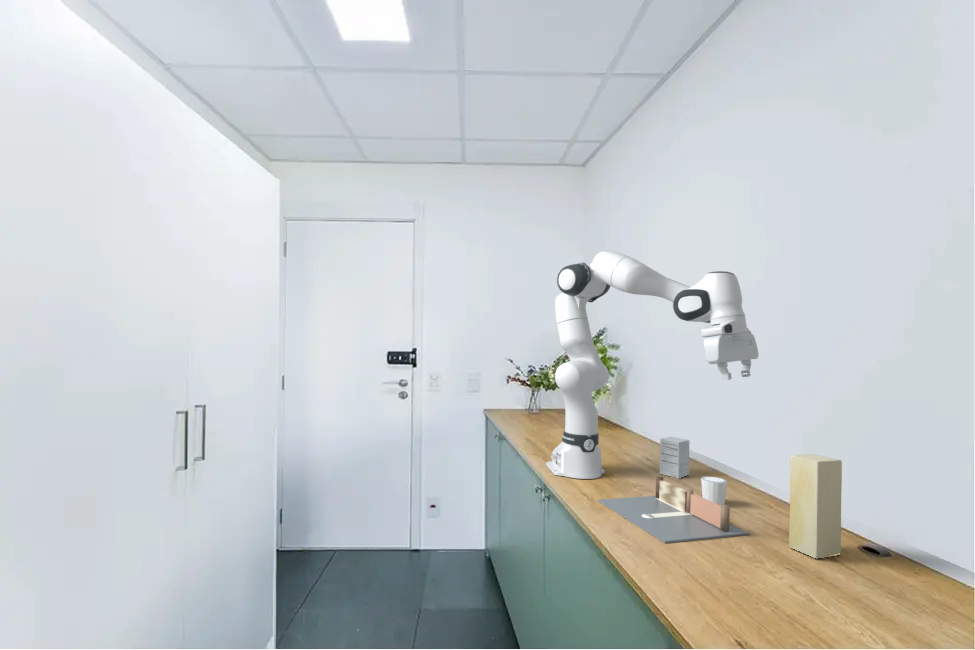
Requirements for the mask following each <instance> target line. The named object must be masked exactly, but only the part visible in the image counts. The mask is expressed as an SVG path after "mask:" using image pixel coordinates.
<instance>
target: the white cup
mask: <svg viewBox="0 0 975 650" xmlns="http://www.w3.org/2000/svg"><path fill="white" fill-rule="evenodd" d="M700 481H701V494H702V496H701V497H702V498H704V499H707V500H709V501H711V502H714V503H716V504H718V505H720V506H721V504H725V503H726V500H725V499H726V494H727V487H728V486H727V485H728V480H727V479H724V478H721V477H718V476H702V477H700Z"/></svg>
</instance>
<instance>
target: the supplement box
mask: <svg viewBox="0 0 975 650" xmlns="http://www.w3.org/2000/svg"><path fill="white" fill-rule="evenodd" d="M659 439H660V442H659V446H660V447H659V451H660V452H659V475H660V474H664V475H668V476H672V477H676V478H680V479H682V478H681V477H683V476H686V475H689V476H690V440H689V439H686V438H680V437H674V436H669V437H667V436H666V437H663V438H659ZM664 475H663V476H664ZM668 476H667V477H668ZM672 477H671V478H672ZM676 478H675V479H676ZM683 478H684V477H683Z"/></svg>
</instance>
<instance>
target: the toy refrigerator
mask: <svg viewBox="0 0 975 650" xmlns="http://www.w3.org/2000/svg"><path fill="white" fill-rule="evenodd" d="M789 466H790V472H789V527H788V528H789V534H788V537H789V538H788V546H789V548H790V549H791V548H793V549H795V550H794V551H796V550H797V551H796V552H798V551H800V552H802V553H801V554H803V553H805V554H806V556H807V555H809V556H808V557H810V556H811V557H810V558H812V557H813V559H815V558H816V559H815V560H819V559H818V558H822V557H826V556H830V555H834V554H838V553H841V552H842V550H841V549H842V548H841V547H842V540H841V539H842V534H841V533H842V485H843V484H842V483H843V481H842V480H843V478H842V475H843V472H842V471H843V462H842V460H841V459H837V458H834V457H829V456H825V455H819V454H813V453H811V454H810V453H809V454H792V455H790V465H789ZM793 549H792V550H793ZM800 552H799V553H800ZM805 554H804V555H805Z"/></svg>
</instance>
